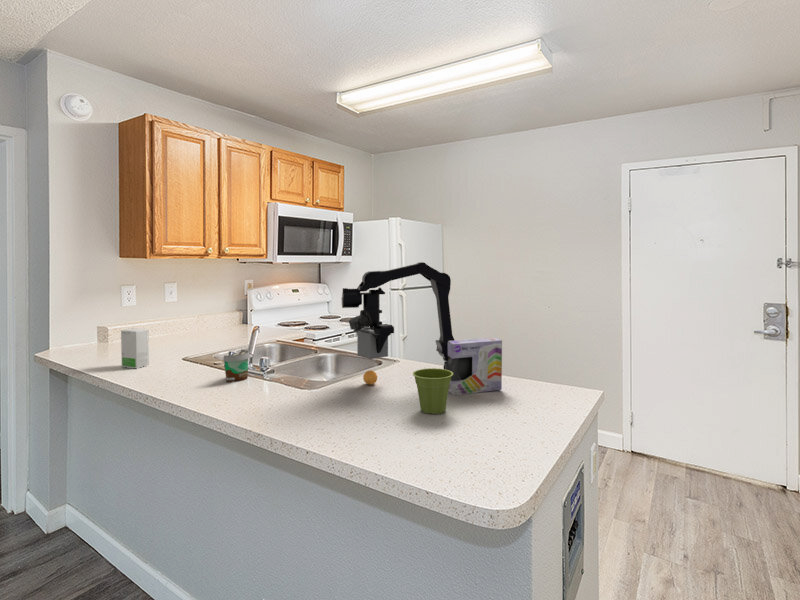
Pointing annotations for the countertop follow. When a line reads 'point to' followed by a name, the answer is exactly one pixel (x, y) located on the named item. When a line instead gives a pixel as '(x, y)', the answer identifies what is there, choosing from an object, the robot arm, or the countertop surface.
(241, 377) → the food container
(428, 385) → the plant pot
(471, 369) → the cake pan box
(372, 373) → the ball
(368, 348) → the matte gray foam cube
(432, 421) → the countertop surface
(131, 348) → the skincare box
